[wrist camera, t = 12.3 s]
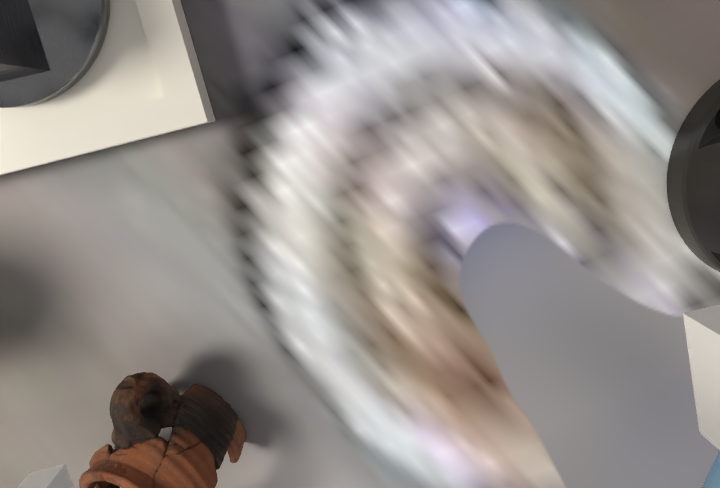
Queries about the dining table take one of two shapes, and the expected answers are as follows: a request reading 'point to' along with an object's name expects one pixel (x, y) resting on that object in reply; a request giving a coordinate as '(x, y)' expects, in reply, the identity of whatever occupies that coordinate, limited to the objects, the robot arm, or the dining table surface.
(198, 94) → the dial panel
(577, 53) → the dining table surface
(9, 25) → the dial
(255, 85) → the dining table surface
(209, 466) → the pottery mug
